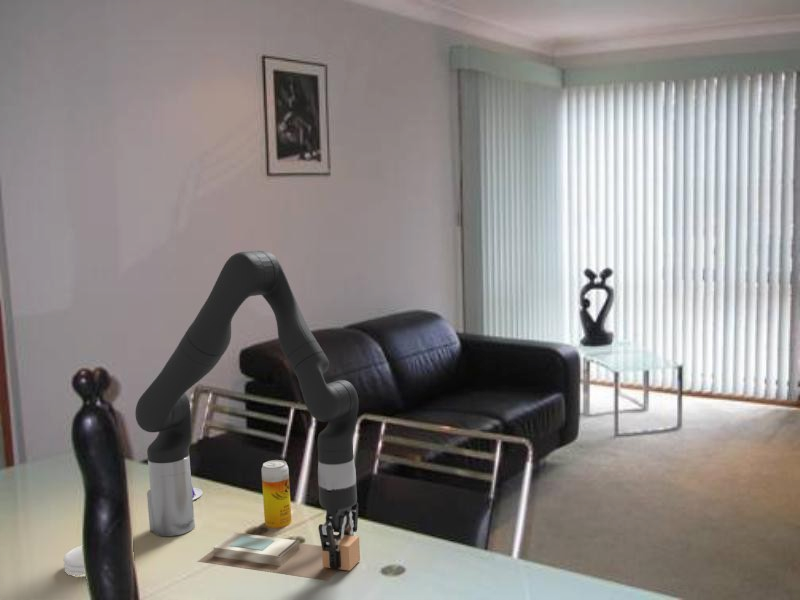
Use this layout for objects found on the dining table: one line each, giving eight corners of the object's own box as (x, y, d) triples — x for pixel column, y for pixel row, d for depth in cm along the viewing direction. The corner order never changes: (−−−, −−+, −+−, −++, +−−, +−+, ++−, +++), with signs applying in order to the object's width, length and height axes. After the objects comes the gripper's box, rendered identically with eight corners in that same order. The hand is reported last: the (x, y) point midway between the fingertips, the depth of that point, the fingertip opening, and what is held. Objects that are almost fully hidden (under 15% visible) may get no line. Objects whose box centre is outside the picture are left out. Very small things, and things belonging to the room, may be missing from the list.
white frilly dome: (85, 582, 169) (84, 566, 169) (54, 572, 174) (53, 556, 174) (125, 563, 178) (124, 547, 177) (94, 554, 183) (93, 538, 182)
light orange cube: (322, 566, 168) (321, 543, 168) (333, 556, 173) (332, 533, 172) (349, 570, 166) (348, 546, 166) (360, 559, 171) (359, 536, 170)
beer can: (286, 532, 190) (282, 468, 188) (261, 531, 191) (257, 467, 189) (295, 521, 196) (291, 459, 194) (270, 520, 197) (266, 459, 195)
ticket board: (198, 565, 174) (196, 551, 174) (234, 538, 187) (233, 525, 187) (327, 585, 163) (326, 569, 163) (357, 555, 176) (356, 541, 176)
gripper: (335, 467, 175) (340, 545, 178) (303, 491, 162) (308, 575, 164) (368, 471, 173) (372, 549, 175) (338, 495, 159) (343, 580, 162)
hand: (341, 561), depth 170 cm, fingers closed on light orange cube, 5 cm apart
